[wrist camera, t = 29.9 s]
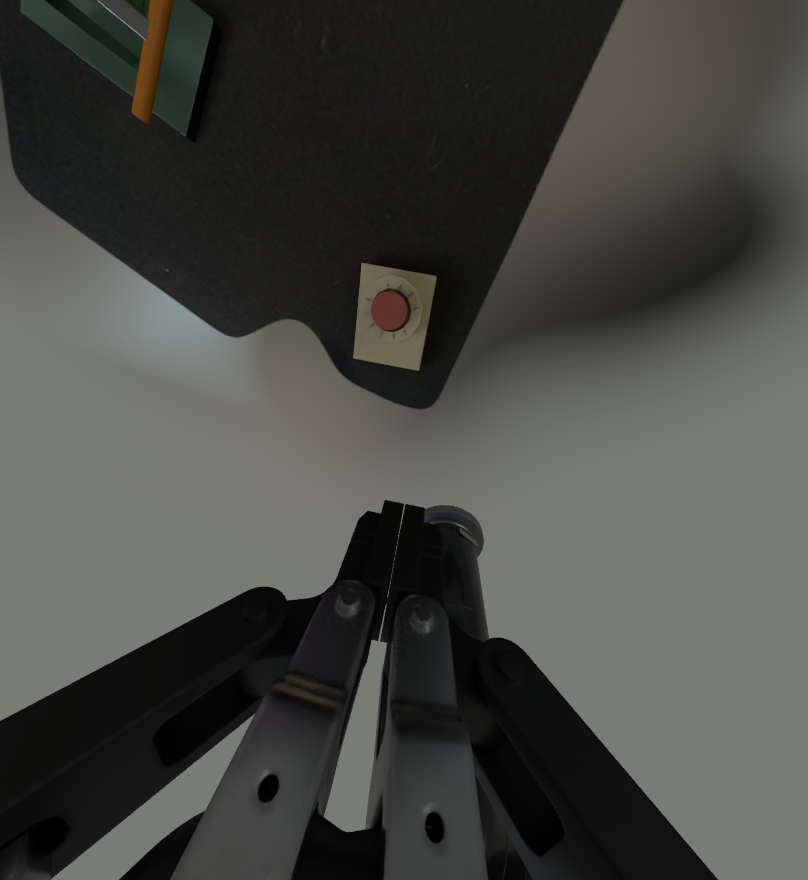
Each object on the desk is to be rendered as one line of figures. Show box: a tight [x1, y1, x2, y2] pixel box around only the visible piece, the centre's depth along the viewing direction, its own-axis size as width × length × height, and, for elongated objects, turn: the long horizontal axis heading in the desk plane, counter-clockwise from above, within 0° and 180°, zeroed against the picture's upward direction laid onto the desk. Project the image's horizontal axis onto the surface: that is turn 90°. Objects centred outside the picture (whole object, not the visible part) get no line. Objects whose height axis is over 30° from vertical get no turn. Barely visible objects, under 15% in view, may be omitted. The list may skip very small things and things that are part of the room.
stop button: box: [372, 291, 408, 330], centre depth 31 cm, size 4×4×2 cm
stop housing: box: [353, 263, 437, 371], centre depth 34 cm, size 10×8×4 cm
